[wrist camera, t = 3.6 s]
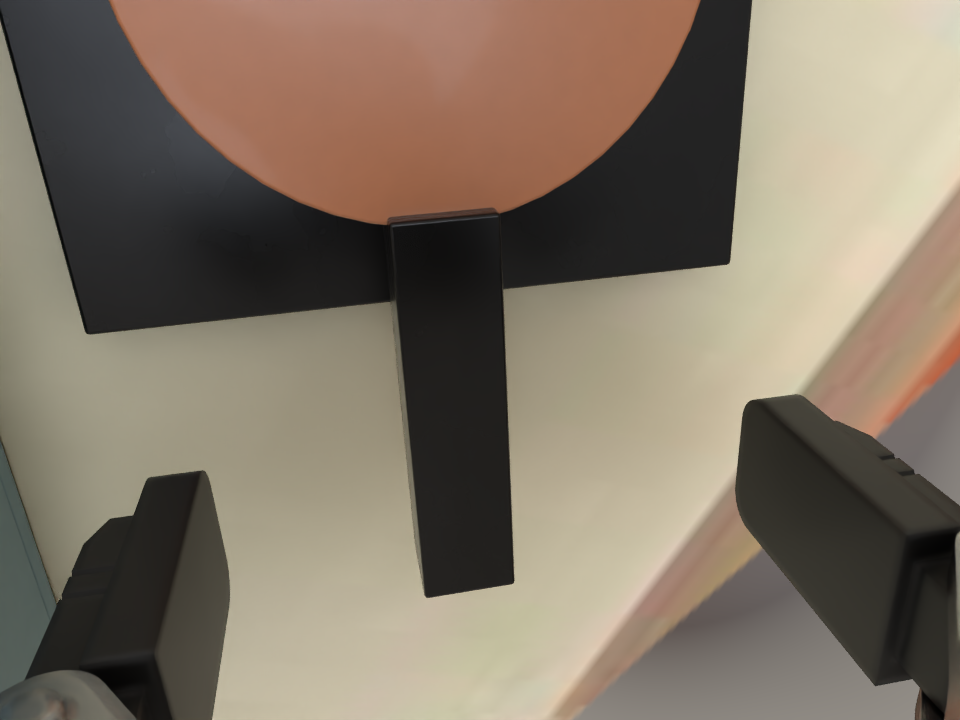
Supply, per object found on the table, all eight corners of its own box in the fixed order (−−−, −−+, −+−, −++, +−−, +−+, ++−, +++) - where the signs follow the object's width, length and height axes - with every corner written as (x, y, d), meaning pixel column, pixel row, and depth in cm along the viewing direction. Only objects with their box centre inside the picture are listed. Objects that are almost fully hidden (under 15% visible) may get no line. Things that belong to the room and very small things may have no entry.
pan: (66, -399, 12) (-35, -562, 8) (645, -389, 13) (765, -527, 10) (250, 512, 19) (235, 631, 15) (621, 459, 20) (686, 556, 17)
